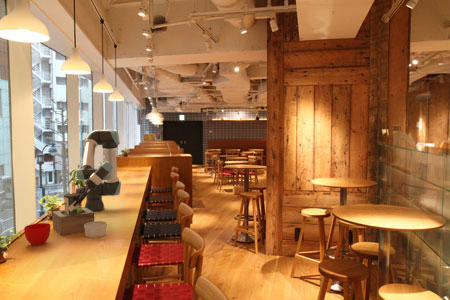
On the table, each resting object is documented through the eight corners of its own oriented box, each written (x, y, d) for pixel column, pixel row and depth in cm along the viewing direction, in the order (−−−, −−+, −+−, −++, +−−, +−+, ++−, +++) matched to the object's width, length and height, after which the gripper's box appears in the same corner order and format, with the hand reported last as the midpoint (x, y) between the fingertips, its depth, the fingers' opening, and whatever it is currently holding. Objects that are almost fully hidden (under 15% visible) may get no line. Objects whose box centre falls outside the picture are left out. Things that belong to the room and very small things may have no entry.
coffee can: (85, 214, 229) (84, 193, 228) (75, 218, 219) (74, 196, 218) (71, 214, 231) (70, 192, 230) (61, 218, 221) (60, 195, 220)
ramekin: (105, 238, 207) (105, 226, 206) (81, 239, 204) (81, 227, 204) (109, 231, 220) (108, 220, 219) (86, 232, 218) (86, 221, 217)
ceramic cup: (56, 237, 208) (55, 220, 207) (46, 246, 191) (46, 228, 191) (32, 238, 206) (31, 221, 205) (20, 248, 189) (20, 229, 189)
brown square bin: (52, 229, 227) (52, 211, 226) (84, 223, 239) (84, 207, 238) (61, 236, 211) (60, 217, 210) (94, 230, 223) (94, 212, 223)
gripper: (101, 187, 222) (75, 215, 215) (93, 183, 241) (69, 208, 234) (92, 180, 219) (66, 208, 212) (85, 176, 238) (60, 201, 231)
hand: (68, 208), depth 223 cm, fingers closed on coffee can, 10 cm apart
